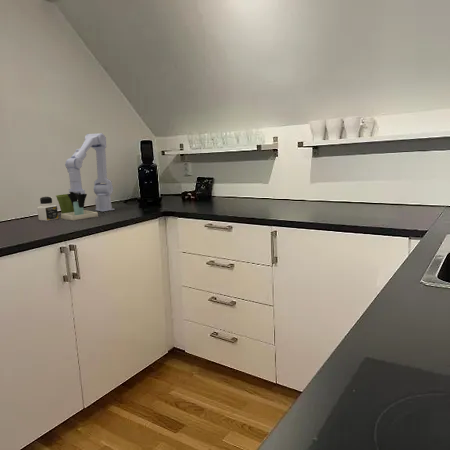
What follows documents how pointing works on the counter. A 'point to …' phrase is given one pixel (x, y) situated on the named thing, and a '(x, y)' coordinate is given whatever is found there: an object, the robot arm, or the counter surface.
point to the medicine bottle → (47, 209)
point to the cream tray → (74, 217)
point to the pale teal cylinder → (77, 209)
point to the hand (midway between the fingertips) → (78, 206)
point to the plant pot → (65, 203)
